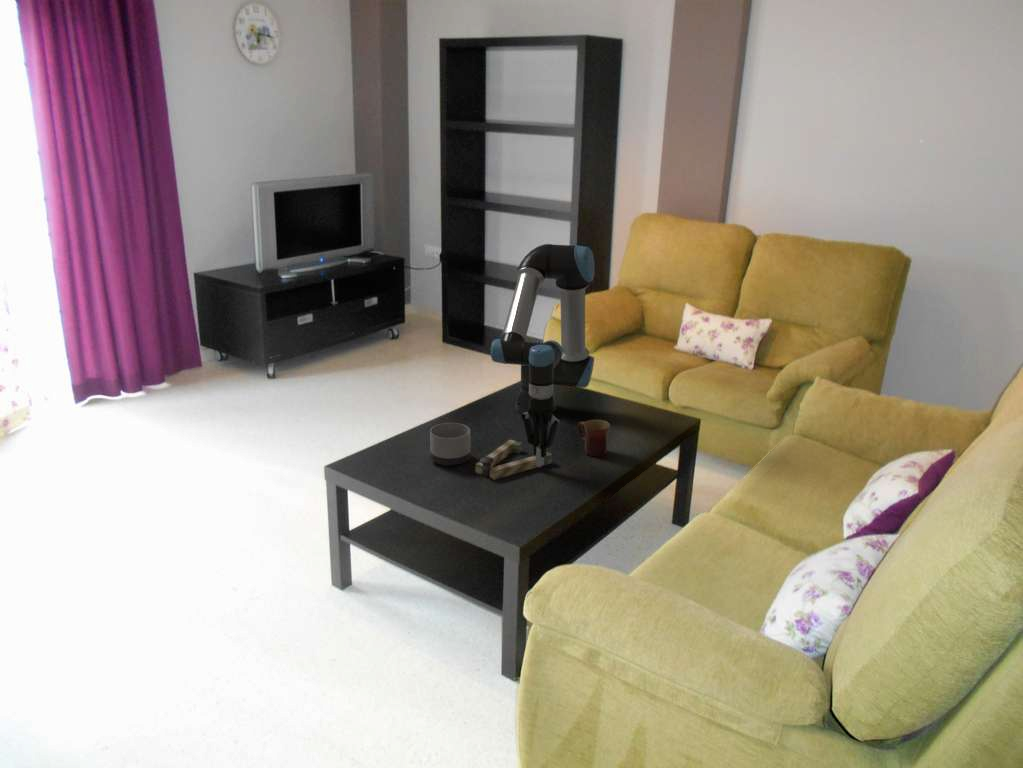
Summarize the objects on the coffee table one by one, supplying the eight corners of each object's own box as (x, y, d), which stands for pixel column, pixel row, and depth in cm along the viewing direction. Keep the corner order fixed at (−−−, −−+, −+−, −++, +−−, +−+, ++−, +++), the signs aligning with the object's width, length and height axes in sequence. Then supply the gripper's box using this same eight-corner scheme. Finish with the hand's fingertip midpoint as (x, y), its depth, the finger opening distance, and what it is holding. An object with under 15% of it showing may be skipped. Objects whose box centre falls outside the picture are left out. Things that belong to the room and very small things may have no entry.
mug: (614, 453, 277) (615, 424, 273) (598, 461, 271) (599, 432, 267) (585, 442, 284) (586, 414, 281) (569, 450, 278) (570, 422, 275)
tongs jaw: (494, 480, 257) (494, 470, 256) (489, 477, 259) (489, 467, 258) (551, 463, 268) (551, 454, 267) (546, 460, 270) (547, 451, 269)
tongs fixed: (489, 479, 257) (489, 463, 255) (472, 475, 260) (472, 458, 258) (525, 451, 277) (526, 436, 275) (509, 447, 280) (509, 432, 278)
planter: (424, 465, 267) (423, 434, 263) (440, 449, 278) (440, 420, 275) (460, 471, 263) (460, 440, 259) (476, 455, 274) (476, 426, 271)
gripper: (516, 395, 256) (516, 465, 264) (554, 403, 250) (553, 474, 258) (527, 388, 262) (527, 456, 270) (565, 395, 256) (563, 465, 264)
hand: (539, 465), depth 264 cm, fingers closed
